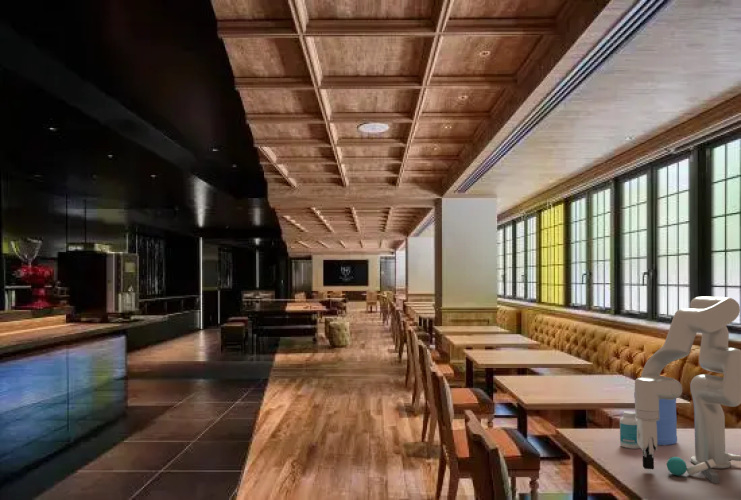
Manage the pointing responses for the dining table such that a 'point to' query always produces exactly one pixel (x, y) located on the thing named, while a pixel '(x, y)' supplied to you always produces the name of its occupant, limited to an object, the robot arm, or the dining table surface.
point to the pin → (701, 467)
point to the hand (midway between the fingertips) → (648, 468)
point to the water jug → (666, 422)
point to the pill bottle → (628, 430)
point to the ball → (676, 466)
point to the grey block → (711, 475)
